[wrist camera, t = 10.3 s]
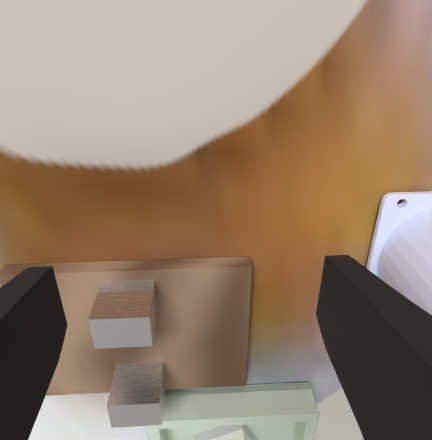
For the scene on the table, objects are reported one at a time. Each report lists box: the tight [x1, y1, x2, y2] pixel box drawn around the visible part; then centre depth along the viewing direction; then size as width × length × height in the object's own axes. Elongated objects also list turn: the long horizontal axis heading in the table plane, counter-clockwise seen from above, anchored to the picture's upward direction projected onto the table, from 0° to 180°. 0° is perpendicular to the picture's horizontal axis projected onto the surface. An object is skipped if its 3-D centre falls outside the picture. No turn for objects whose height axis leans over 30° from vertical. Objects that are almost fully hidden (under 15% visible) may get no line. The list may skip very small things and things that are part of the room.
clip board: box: [0, 256, 252, 427], centre depth 23 cm, size 14×10×4 cm
